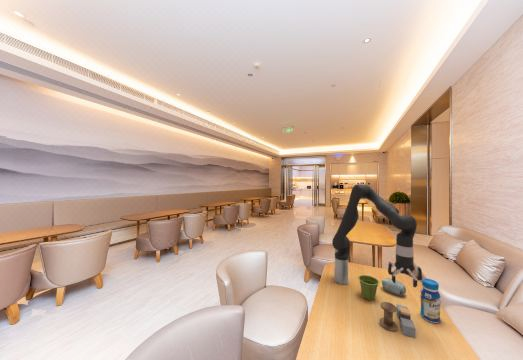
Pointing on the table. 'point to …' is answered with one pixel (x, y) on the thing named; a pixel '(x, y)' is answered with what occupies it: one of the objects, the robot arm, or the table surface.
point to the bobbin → (388, 316)
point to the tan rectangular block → (405, 313)
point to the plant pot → (368, 286)
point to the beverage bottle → (430, 301)
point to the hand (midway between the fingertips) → (404, 284)
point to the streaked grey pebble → (394, 286)
